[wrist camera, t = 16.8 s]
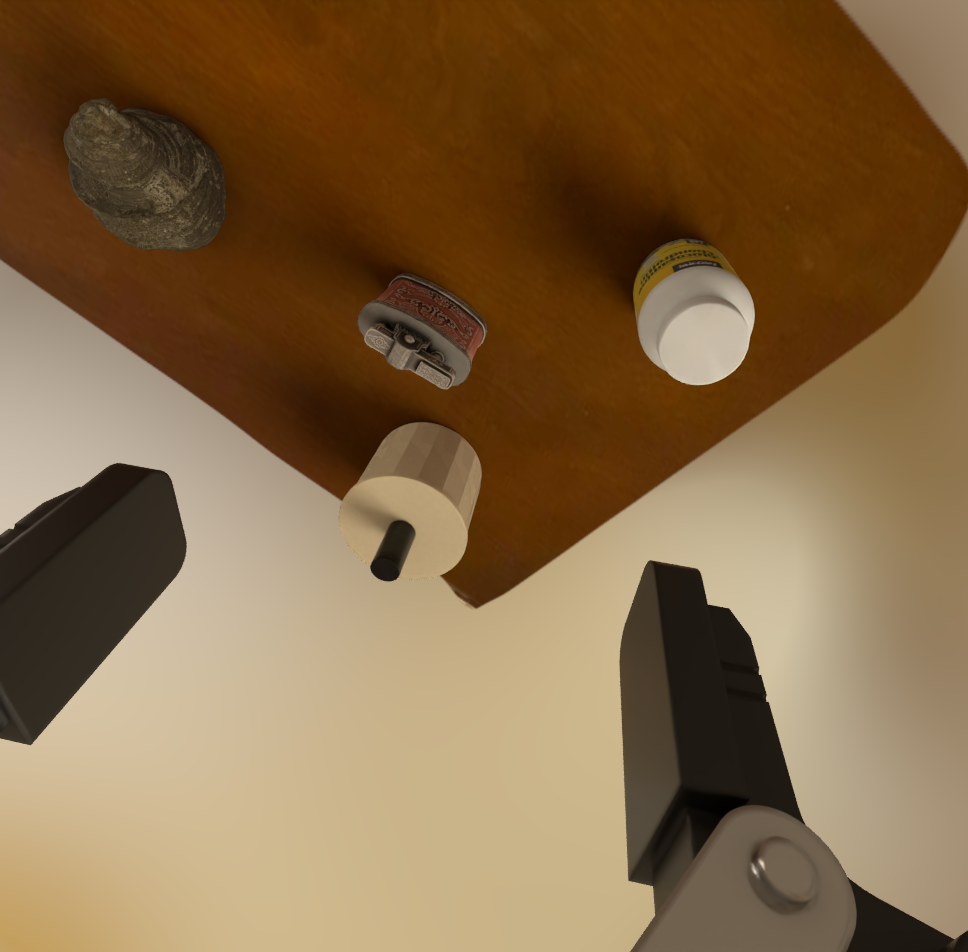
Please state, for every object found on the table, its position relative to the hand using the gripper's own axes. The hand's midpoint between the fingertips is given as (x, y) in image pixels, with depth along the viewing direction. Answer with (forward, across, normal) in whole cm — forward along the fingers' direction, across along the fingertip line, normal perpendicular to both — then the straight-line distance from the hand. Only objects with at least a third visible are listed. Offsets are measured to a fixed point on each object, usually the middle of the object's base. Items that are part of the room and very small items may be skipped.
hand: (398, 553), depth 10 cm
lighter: (+36, +7, +8) cm, 38 cm away
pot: (+36, +7, +23) cm, 43 cm away
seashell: (+36, +28, +3) cm, 46 cm away
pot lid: (+28, +7, +23) cm, 37 cm away
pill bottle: (+36, -10, +4) cm, 38 cm away
